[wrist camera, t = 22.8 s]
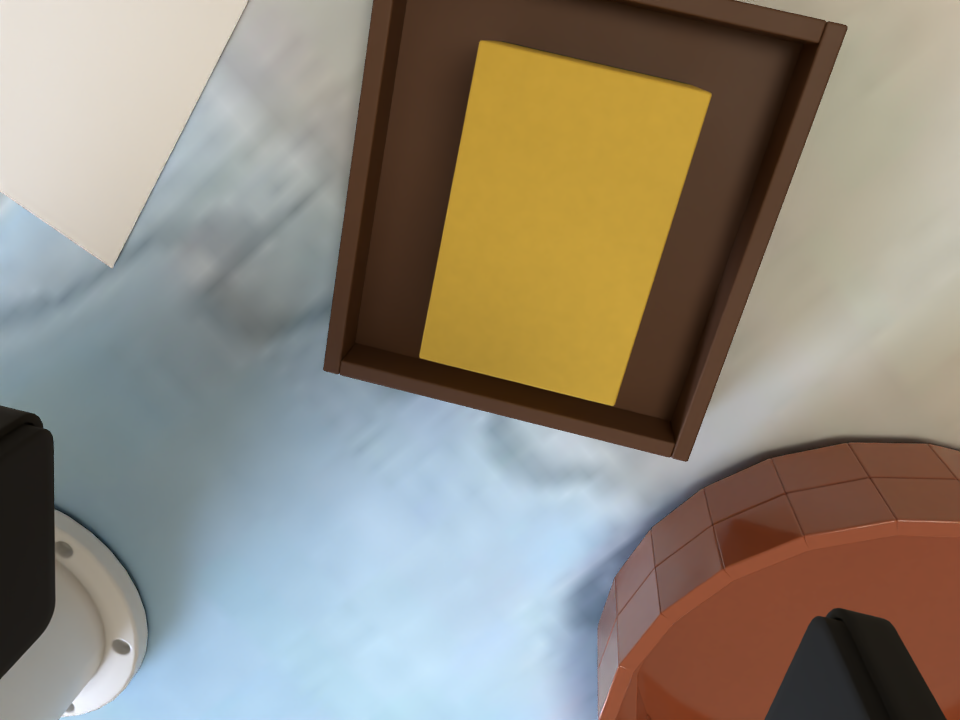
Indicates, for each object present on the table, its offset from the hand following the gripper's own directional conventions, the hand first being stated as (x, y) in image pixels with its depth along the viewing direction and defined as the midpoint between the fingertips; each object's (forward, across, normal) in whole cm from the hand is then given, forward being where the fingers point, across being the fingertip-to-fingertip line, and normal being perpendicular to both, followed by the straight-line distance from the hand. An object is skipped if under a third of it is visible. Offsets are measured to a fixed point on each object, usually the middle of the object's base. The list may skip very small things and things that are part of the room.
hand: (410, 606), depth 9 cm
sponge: (+18, -1, -2) cm, 19 cm away
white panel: (+19, +20, -9) cm, 29 cm away
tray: (+19, -1, -2) cm, 19 cm away
